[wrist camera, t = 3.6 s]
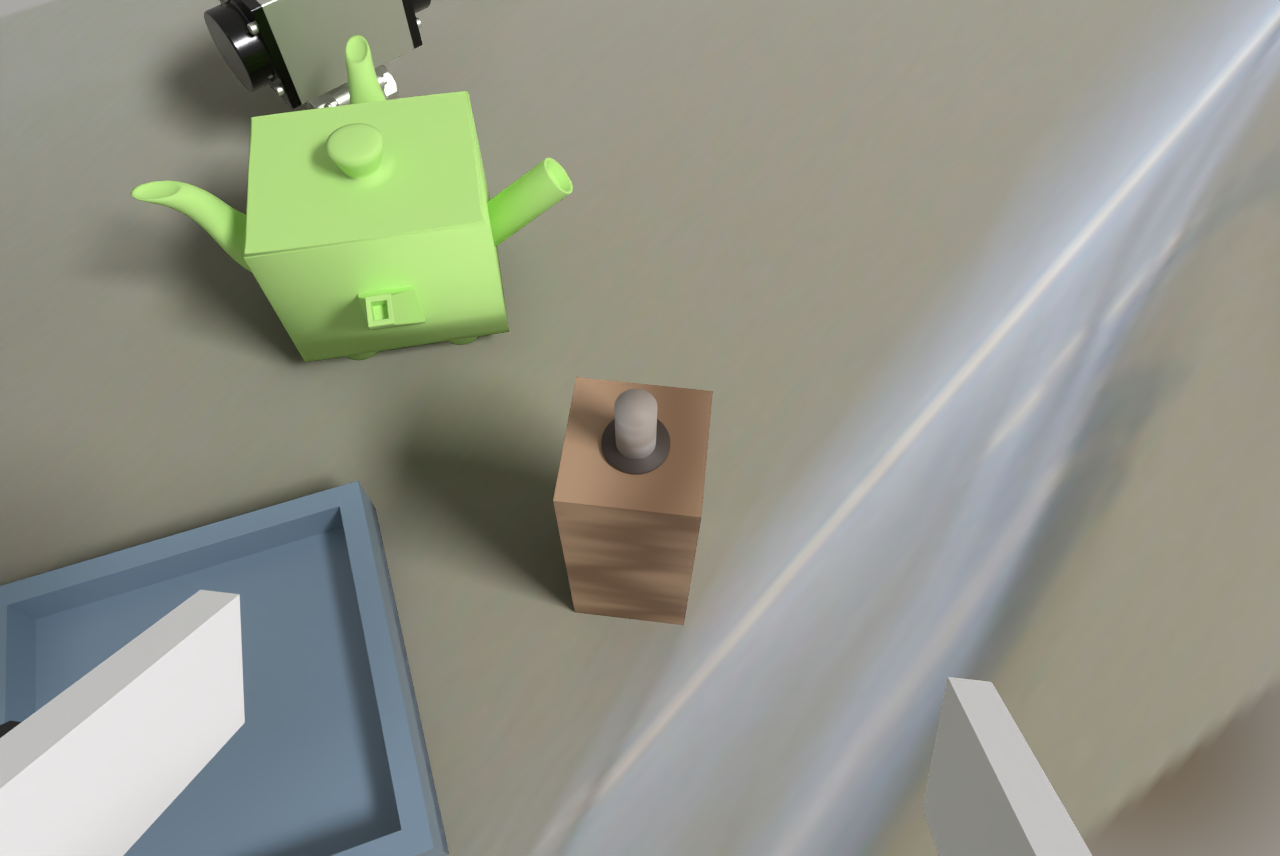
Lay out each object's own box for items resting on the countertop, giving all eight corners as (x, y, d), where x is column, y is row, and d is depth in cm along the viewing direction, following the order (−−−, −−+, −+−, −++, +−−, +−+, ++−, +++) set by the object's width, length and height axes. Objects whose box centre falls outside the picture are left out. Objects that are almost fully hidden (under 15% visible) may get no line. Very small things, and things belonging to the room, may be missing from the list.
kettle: (218, 325, 47) (111, 169, 38) (388, 170, 53) (333, 2, 44) (431, 452, 43) (372, 316, 34) (587, 270, 49) (576, 109, 40)
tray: (22, 1013, 32) (-33, 1021, 29) (25, 612, 39) (-18, 591, 37) (448, 854, 34) (433, 848, 32) (375, 508, 42) (357, 480, 39)
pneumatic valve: (456, 99, 57) (416, -86, 46) (298, 183, 53) (215, 1, 42) (410, 57, 59) (361, -129, 48) (254, 135, 55) (165, -50, 44)
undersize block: (574, 611, 39) (546, 466, 27) (591, 512, 42) (571, 336, 29) (683, 624, 39) (706, 483, 26) (693, 524, 42) (718, 351, 29)
